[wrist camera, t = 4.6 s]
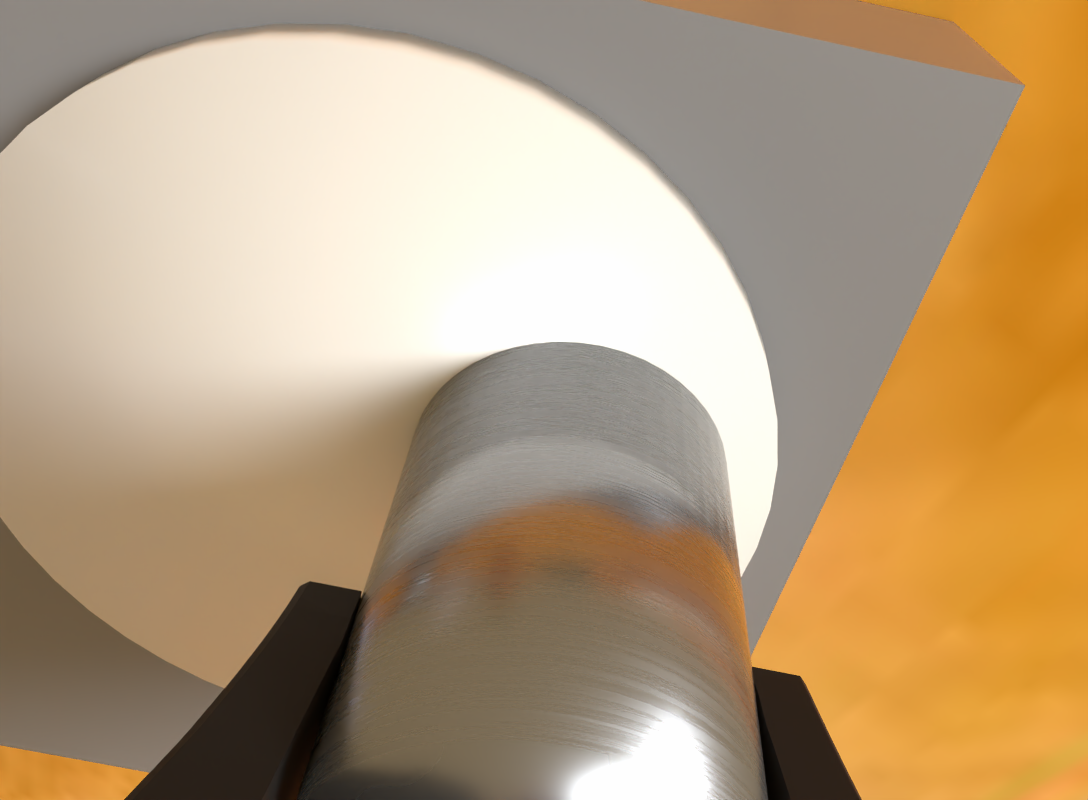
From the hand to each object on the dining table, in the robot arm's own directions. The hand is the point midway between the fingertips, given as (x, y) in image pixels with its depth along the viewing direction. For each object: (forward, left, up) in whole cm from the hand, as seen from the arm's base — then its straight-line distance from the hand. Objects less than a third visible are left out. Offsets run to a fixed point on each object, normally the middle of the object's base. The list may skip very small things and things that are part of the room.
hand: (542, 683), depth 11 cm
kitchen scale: (-2, +3, -7) cm, 8 cm away
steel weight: (+1, 0, -3) cm, 3 cm away
